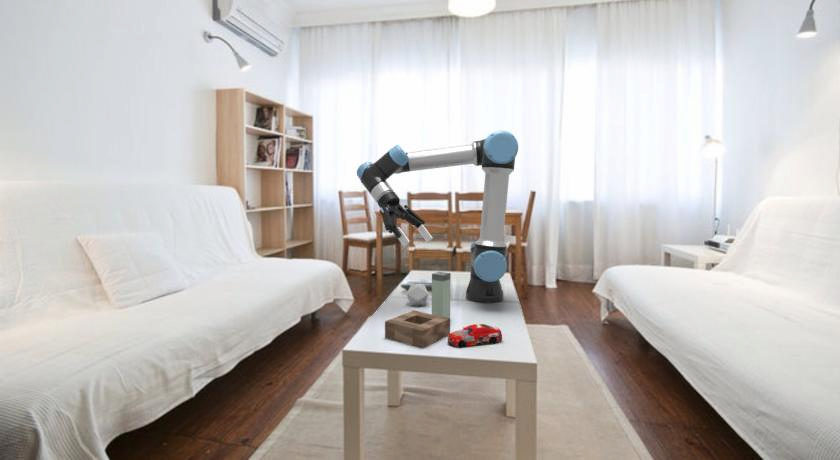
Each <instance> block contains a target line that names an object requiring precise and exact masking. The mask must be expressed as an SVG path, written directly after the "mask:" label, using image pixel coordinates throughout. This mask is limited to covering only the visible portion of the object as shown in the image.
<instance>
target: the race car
mask: <svg viewBox="0 0 840 460" xmlns="http://www.w3.org/2000/svg"><path fill="white" fill-rule="evenodd" d="M502 340H503V334H502V330H501V329H500V328H499V327H497V326H495V325H488V324H486V323H485V324H483V323H476V324H475V323H474V324H470V325H467V326H466V327H465V326H464V327H463V328H462V329H459V330H456V331H452V332H450V334H449V335H448V336H447V343H448V344H449V345H452V346H454V347H458V348H460V349H461V348H466V347H471V346H478V345H486V344H487V345H488V344H490V345H495V344H496V343H499V342H501V341H502Z"/></svg>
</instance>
